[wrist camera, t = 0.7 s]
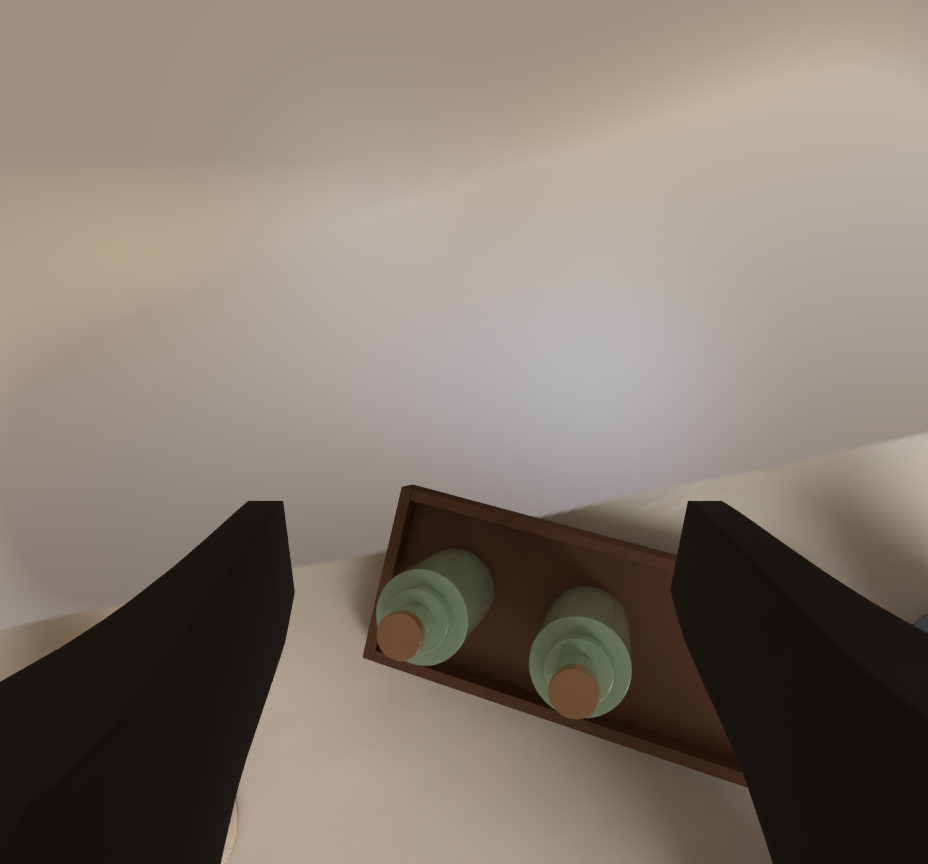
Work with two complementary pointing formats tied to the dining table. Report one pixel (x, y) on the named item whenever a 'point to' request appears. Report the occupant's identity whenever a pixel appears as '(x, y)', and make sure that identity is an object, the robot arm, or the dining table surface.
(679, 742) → the tray
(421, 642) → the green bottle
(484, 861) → the dining table surface
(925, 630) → the blue bottle
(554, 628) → the green bottle mid
